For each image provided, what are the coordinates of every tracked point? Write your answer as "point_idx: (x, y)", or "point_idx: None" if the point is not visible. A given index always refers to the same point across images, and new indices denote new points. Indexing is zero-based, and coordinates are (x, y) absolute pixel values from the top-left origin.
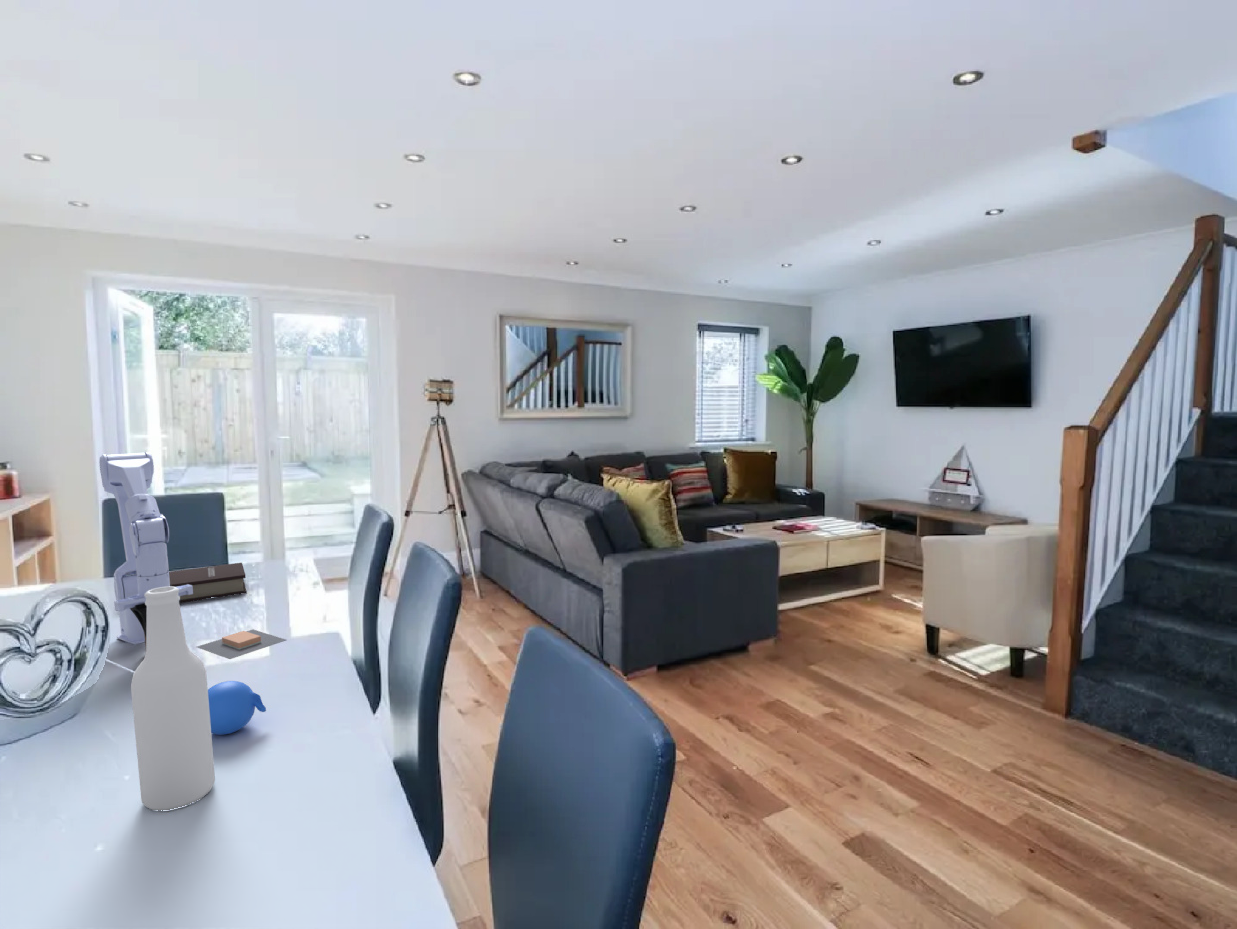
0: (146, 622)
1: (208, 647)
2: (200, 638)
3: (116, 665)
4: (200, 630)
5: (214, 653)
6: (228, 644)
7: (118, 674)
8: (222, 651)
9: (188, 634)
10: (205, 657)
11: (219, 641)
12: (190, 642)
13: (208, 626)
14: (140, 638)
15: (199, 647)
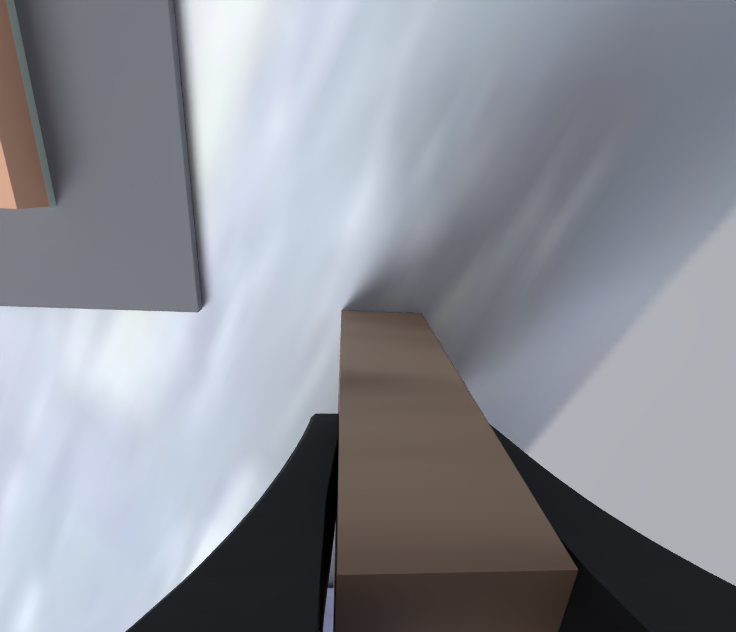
0: (609, 514)
1: (152, 223)
2: (118, 446)
3: (541, 424)
4: (72, 553)
5: (172, 52)
6: (27, 107)
7: (621, 295)
8: (114, 28)
9: (139, 545)
10: (238, 79)
11: (55, 272)
12: (181, 432)
13: (20, 575)
14: (325, 623)
15: (190, 280)
